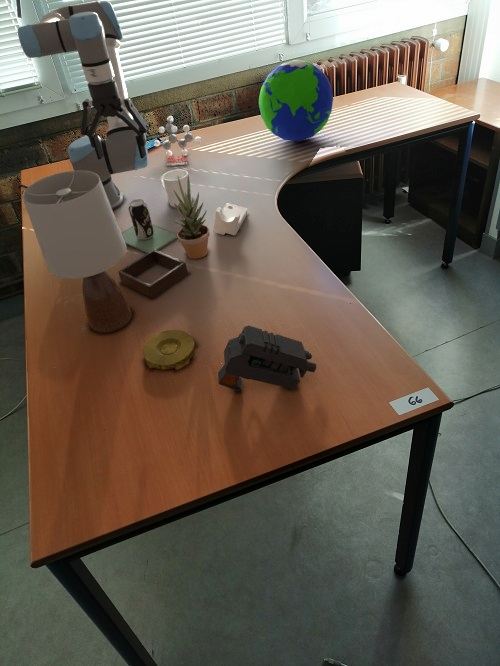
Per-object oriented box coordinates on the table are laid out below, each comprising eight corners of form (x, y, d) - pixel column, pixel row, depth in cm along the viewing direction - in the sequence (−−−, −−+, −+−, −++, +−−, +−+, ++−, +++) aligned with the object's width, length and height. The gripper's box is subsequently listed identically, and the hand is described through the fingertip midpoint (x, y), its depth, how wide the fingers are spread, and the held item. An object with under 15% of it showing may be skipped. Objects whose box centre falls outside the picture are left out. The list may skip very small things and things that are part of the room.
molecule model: (154, 173, 207) (143, 140, 194) (159, 149, 216) (149, 116, 203) (201, 170, 205) (193, 136, 192) (205, 146, 213) (198, 112, 200)
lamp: (86, 299, 139) (35, 172, 115) (152, 295, 137) (114, 164, 113) (66, 345, 125) (2, 211, 101) (138, 341, 123) (92, 203, 99)
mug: (197, 198, 179) (192, 170, 173) (185, 209, 174) (179, 181, 167) (172, 195, 184) (165, 167, 177) (158, 206, 178) (152, 178, 171)
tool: (211, 370, 109) (238, 319, 100) (290, 389, 115) (321, 343, 107) (212, 390, 104) (240, 339, 96) (294, 410, 111) (327, 363, 102)
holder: (121, 283, 143) (117, 271, 141) (156, 260, 151) (153, 249, 148) (152, 298, 136) (149, 286, 134) (188, 274, 143) (185, 262, 141)
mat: (114, 239, 163) (114, 237, 163) (142, 223, 170) (142, 221, 169) (150, 254, 154) (150, 253, 153) (178, 237, 160) (178, 235, 160)
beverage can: (145, 243, 158) (136, 208, 150) (133, 238, 161) (123, 204, 153) (158, 234, 161) (149, 200, 153) (146, 230, 164) (137, 196, 156)
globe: (304, 121, 227) (302, 47, 207) (348, 138, 206) (349, 57, 187) (248, 140, 217) (240, 64, 197) (288, 160, 196) (283, 77, 177)
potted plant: (199, 241, 157) (184, 164, 140) (219, 251, 151) (206, 172, 135) (174, 255, 152) (155, 178, 136) (193, 266, 146) (177, 186, 130)
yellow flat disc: (187, 373, 113) (186, 366, 112) (138, 370, 116) (135, 363, 114) (200, 337, 122) (199, 330, 121) (154, 335, 124) (152, 328, 123)
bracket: (234, 238, 158) (237, 217, 152) (213, 231, 158) (215, 211, 153) (246, 217, 167) (249, 197, 162) (226, 212, 167) (228, 191, 162)
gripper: (52, 87, 135) (78, 163, 149) (139, 82, 130) (157, 161, 144) (64, 78, 140) (88, 152, 155) (148, 73, 136) (165, 150, 150)
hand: (122, 157), depth 150 cm, fingers open, 13 cm apart
